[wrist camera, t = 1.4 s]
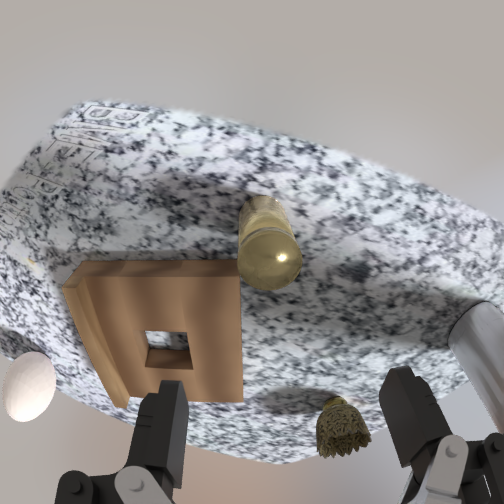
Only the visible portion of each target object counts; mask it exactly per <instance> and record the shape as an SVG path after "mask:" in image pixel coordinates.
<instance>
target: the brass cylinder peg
mask: <svg viewBox="0 0 504 504" xmlns="http://www.w3.org/2000/svg"><path fill="white" fill-rule="evenodd" d="M237 266H238V271H239V273H240V275H241V277H242V278H243V280H244V281H245V282H246V283H247V284H249V285H250V286H252V287H254V288H257V289H260V290H277V289H280V288H283V287H285V286H287V285H289V284H290V283H291V282H292V281H294V280H295V278H296V277H297V276H298V274H299V272H300V270H301V267H302V254H301V251H300V248H299V245H298V243H297V241H296V240H295V237H294V234H293V232H292V229H291V226H290V224H289V221H288V219H287V216H286V213H285V211H284V208H283V206H282V205H281V204H280V203H279V202H278V201H277V200H276V199H274V198H272V197H269V196H263V195H262V196H256V197H253V198H251V199H249V200H248V201H247V202H245V203H244V205H243V206H242V208H241V210H240V213H239V239H238V255H237Z"/></svg>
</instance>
